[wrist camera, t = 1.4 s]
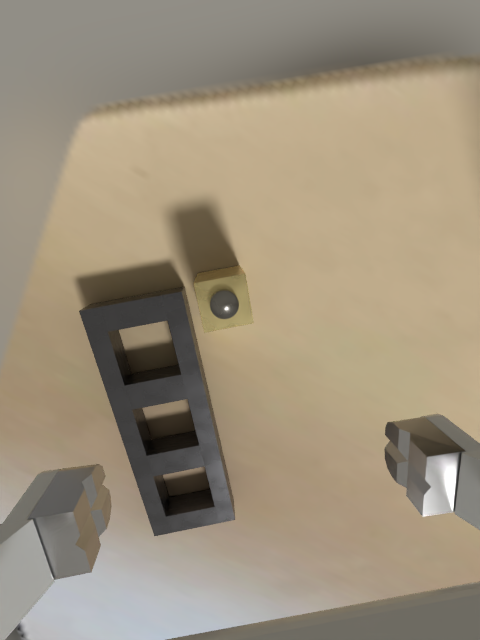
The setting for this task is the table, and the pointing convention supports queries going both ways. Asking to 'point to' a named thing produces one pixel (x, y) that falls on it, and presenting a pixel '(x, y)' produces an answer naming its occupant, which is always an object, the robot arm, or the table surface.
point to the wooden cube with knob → (223, 298)
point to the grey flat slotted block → (160, 388)
